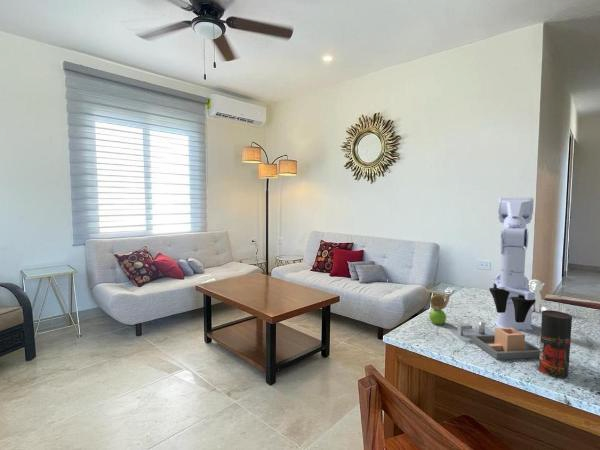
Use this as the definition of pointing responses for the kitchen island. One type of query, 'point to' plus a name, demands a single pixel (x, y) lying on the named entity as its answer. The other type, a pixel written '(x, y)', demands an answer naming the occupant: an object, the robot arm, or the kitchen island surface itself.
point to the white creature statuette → (537, 295)
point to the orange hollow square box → (508, 340)
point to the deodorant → (555, 343)
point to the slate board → (471, 333)
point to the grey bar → (468, 326)
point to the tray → (484, 340)
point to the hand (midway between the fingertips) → (510, 317)
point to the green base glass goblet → (438, 309)
